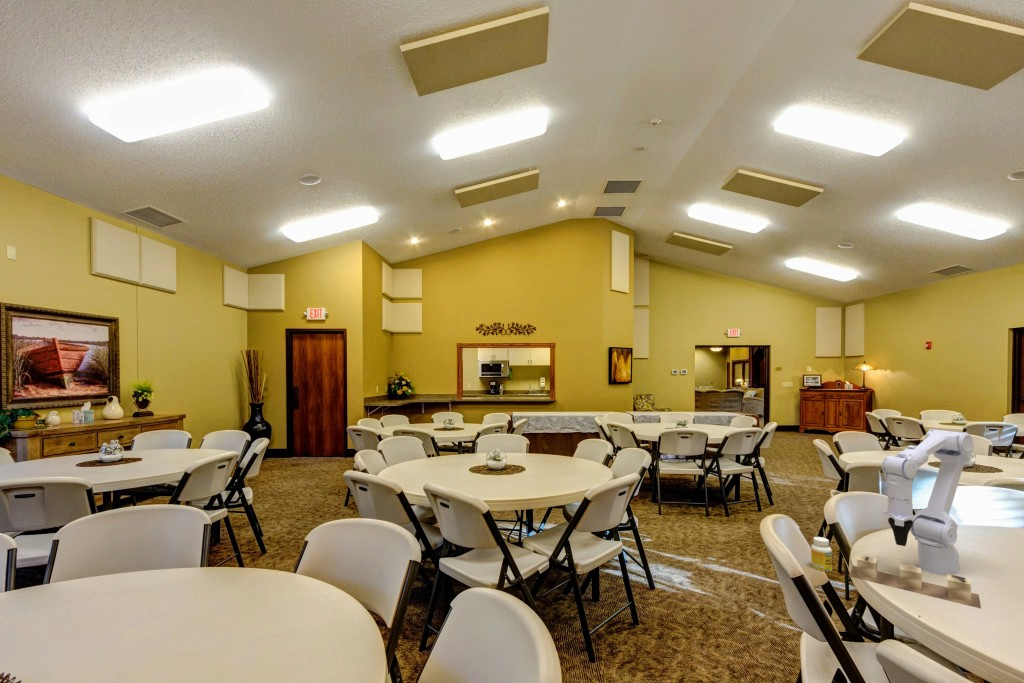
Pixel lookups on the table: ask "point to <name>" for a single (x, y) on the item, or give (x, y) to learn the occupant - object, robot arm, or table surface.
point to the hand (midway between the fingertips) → (901, 544)
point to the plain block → (910, 577)
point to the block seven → (959, 588)
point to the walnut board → (925, 590)
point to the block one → (867, 566)
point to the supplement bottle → (821, 554)
